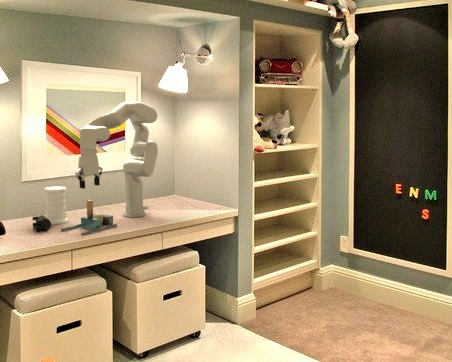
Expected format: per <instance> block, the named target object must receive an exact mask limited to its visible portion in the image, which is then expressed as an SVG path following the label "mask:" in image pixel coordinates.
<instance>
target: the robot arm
mask: <svg viewBox="0 0 452 362" xmlns="http://www.w3.org/2000/svg"><path fill="white" fill-rule="evenodd" d="M157 119H158V112H157V110H156V109H155V108H154V107H153V106H151V105H148V104H146V103H143V102H141V101H124V102H121V103H120V104H119V105H118V106H116V107H115V108H114V109H113V110H111V111H110V112H109V113H107V114H104V115H102V116H99V117H97V118H95V119H92V120H91V121H90V122H89V123H87V124H86V125H85V126H84V127H80V129H79V143H80V144H79V147H80V155H79V158H78V166H77V167H78V169H77V170H76V171H75V172H74V174H75V177H76V178H77V179H78V181H79V188H80V189H86V180H85V179H86V177H90V176H94V177H93V185H94V186H97V187H98V186H101V183H100V182H101V181H100V179H101V175H102V172H103V167H101V166H100V165H99V157H98V154H97V151H98V149H97V142H105V141H107V140H109V138H110V136H111V131H110V130H112V129H116V128H119V127H121V126H122V125H123V124H125V122H127V120H129V121H130V122H131V125H132V128H133V133H132V137H131V142H130V146H129V147H130V148H129V153H130V155H131V156H133V157H136V158H127V159H126V160H125V161H124V162H123V164H122V165H123V166H122V169H123V174H124V181H125V184H124V185H125V186H124V187H125V191H124V193H125V211H124V212H122V213H123V214H122V215H123V216H124V217H126V218H140V217H145V216H146V215H147V213H146V211H145V210H148V209H149V206H148V205H144V184H143V180H142V178H149V177H151V176H153V174H154V171H155V168H156V163H157V158H158V152H159V147H158V144H157V143H156V142H155V141H154V140H150V139H149V136H150V135H149V134H150V131H149V128H148V125H146V124H153V123H155V122H156V121H157Z"/></svg>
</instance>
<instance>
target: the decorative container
mask: <svg viewBox="0 0 452 362" xmlns="http://www.w3.org/2000/svg"><path fill="white" fill-rule="evenodd" d="M66 191H67V187H66V186H59V185H58V186H48V187H44V192H45V199H46V200H45V204H46V206H45V209H46V214H45V216H46V217H47V218H48V219H49V220H50V222H51V225H61V224H62V225H63V224H67V223H68V222H69V219H68V217H67V206H66V203H67V200H66V196H67V195H66Z"/></svg>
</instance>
